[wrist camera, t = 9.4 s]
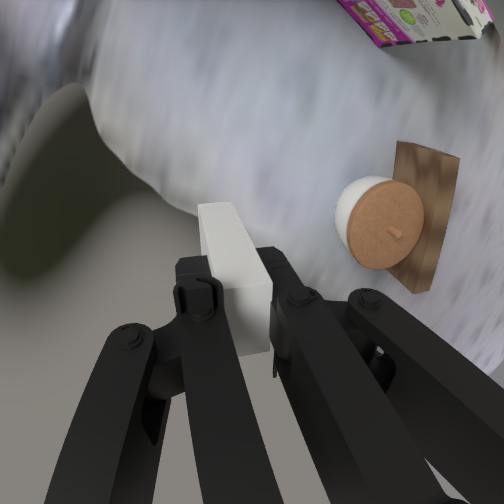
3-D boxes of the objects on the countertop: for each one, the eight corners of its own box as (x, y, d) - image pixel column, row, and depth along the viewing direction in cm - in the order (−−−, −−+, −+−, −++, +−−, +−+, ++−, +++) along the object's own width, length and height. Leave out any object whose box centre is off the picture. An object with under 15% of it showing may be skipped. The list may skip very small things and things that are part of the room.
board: (397, 141, 38) (444, 155, 30) (413, 143, 38) (459, 158, 31) (378, 262, 46) (413, 294, 38) (393, 260, 47) (429, 290, 39)
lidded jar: (356, 149, 37) (402, 166, 29) (401, 197, 42) (445, 222, 34) (304, 216, 40) (339, 249, 31) (355, 256, 44) (392, 291, 36)
